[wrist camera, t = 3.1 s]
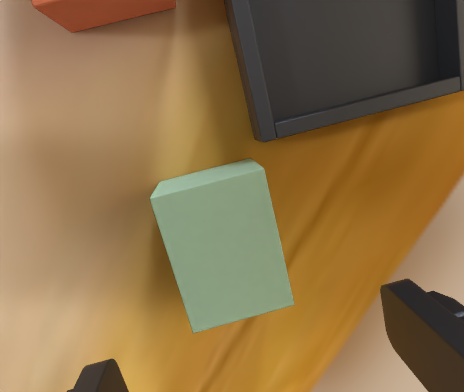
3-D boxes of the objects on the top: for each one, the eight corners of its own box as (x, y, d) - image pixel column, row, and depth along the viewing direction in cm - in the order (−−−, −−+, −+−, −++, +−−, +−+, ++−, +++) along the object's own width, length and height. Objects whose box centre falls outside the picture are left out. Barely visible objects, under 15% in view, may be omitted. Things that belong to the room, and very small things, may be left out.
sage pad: (194, 293, 21) (193, 334, 17) (159, 181, 19) (149, 198, 15) (276, 270, 21) (294, 305, 17) (250, 157, 19) (264, 168, 15)
